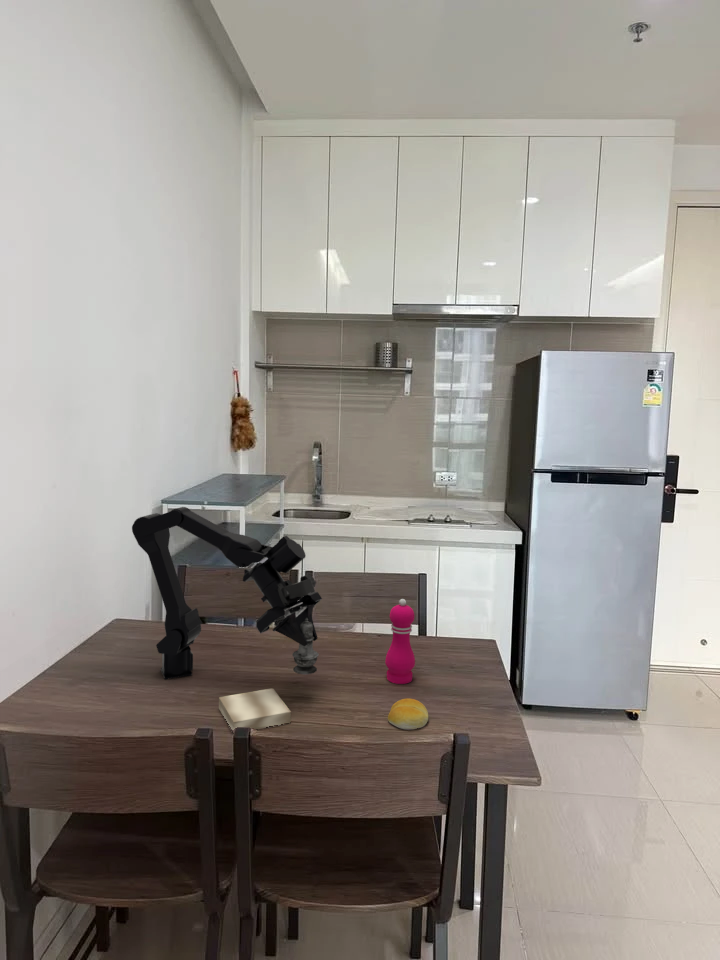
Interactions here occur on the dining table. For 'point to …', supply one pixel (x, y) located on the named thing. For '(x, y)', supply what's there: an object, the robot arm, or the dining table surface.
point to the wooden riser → (254, 709)
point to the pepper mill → (400, 645)
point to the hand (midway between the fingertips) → (311, 642)
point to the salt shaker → (306, 651)
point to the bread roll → (408, 714)
